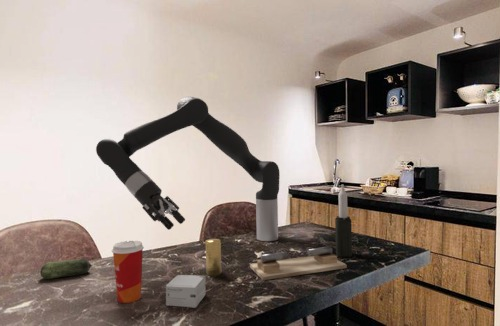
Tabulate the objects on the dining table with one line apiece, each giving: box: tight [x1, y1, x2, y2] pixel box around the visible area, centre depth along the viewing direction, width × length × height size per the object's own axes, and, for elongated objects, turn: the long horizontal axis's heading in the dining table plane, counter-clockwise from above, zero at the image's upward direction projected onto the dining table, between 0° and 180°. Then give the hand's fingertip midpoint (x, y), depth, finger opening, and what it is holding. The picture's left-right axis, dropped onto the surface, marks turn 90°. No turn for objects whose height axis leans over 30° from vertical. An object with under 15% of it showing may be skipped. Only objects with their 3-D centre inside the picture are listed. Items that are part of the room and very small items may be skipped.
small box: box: [165, 274, 206, 309], centre depth 82 cm, size 8×8×5 cm
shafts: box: [260, 246, 333, 263], centre depth 103 cm, size 2×24×2 cm, turn 108°
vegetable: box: [39, 257, 93, 280], centre depth 101 cm, size 14×5×5 cm, turn 113°
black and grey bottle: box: [334, 184, 353, 258], centre depth 116 cm, size 5×5×25 cm
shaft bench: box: [249, 253, 348, 281], centre depth 104 cm, size 12×28×3 cm, turn 108°
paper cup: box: [111, 240, 145, 304], centre depth 83 cm, size 8×8×14 cm
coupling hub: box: [205, 238, 222, 277], centre depth 100 cm, size 5×5×10 cm
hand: (177, 224), depth 102 cm, fingers open, 8 cm apart
